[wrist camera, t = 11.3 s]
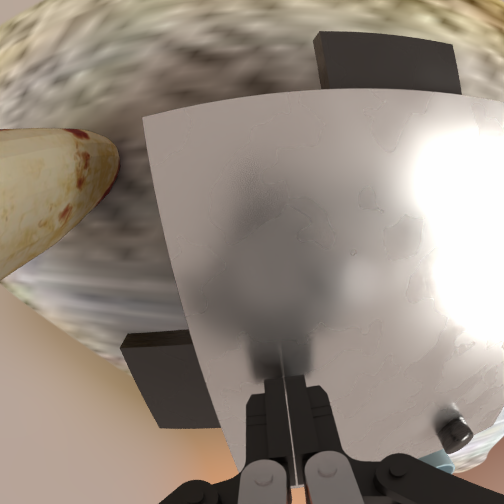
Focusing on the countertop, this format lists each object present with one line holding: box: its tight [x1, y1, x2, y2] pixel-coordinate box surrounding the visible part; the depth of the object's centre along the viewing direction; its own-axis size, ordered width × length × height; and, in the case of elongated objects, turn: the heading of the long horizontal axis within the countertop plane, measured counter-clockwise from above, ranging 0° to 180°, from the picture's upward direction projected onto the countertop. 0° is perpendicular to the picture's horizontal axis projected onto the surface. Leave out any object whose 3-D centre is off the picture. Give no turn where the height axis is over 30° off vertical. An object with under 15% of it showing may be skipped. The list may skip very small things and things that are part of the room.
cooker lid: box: [120, 89, 504, 489], centre depth 11 cm, size 21×20×2 cm
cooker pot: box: [313, 31, 462, 95], centre depth 17 cm, size 18×26×10 cm
